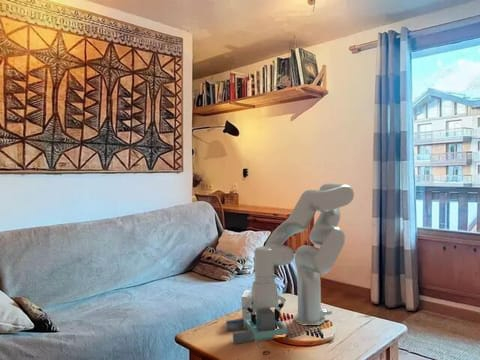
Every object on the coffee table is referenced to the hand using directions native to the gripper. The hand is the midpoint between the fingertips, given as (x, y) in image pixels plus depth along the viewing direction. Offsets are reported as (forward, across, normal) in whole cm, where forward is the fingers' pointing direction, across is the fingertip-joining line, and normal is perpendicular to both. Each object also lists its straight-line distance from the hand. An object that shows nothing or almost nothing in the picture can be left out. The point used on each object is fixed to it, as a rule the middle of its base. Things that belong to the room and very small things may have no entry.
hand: (265, 321), depth 154 cm
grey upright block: (+3, 0, 0) cm, 3 cm away
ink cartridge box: (+4, +3, -13) cm, 14 cm away
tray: (+4, 0, 0) cm, 4 cm away
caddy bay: (+4, +11, 0) cm, 12 cm away
